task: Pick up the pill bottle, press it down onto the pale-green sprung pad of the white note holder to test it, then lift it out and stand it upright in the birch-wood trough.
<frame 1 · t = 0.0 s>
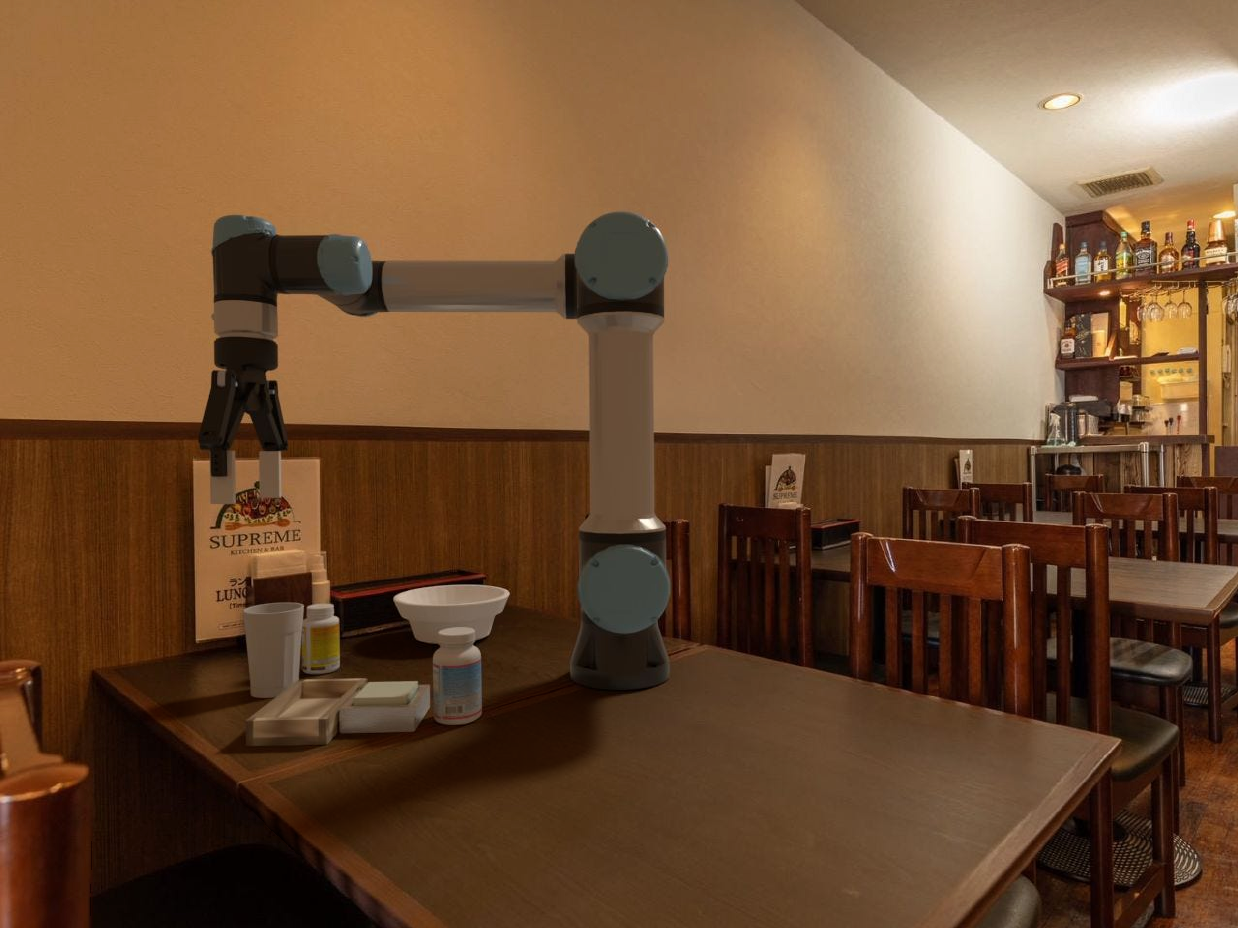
hand: (248, 500, 98), 28 cm above the table, fingers open, 13 cm apart
supplement bottle: (321, 671, 118), on the table
trough: (311, 721, 95), on the table
pad: (386, 693, 96), point 3 cm above the table, slide at -0.1 cm
bowl: (452, 639, 139), on the table
pill bottle: (457, 719, 96), on the table
cup: (275, 692, 108), on the table
white note holder: (387, 719, 96), on the table
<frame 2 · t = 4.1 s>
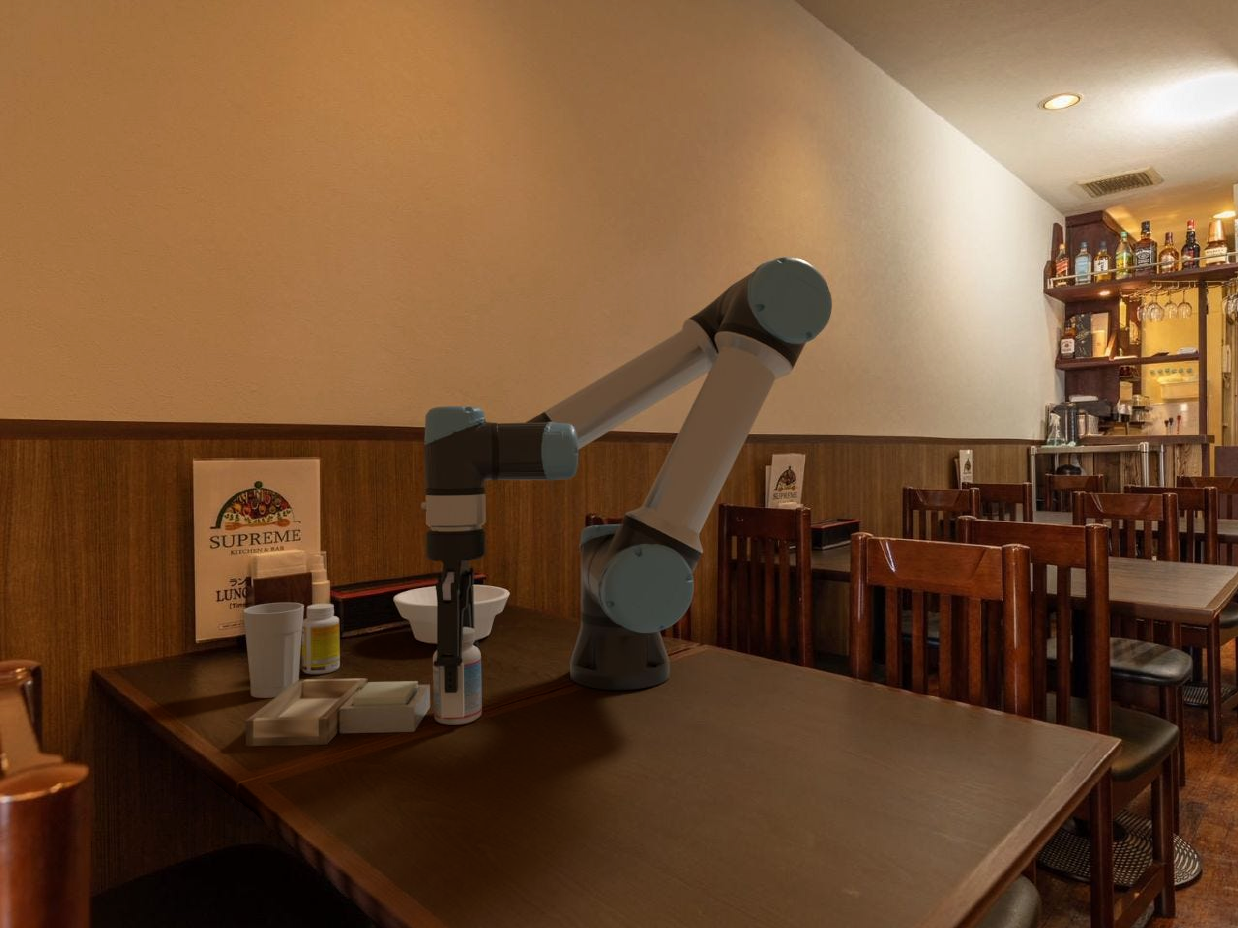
hand: (457, 706, 96), 1 cm above the table, fingers closed on pill bottle, 6 cm apart
pill bottle: (457, 719, 96), on the table, touching gripper
everything else where it was.
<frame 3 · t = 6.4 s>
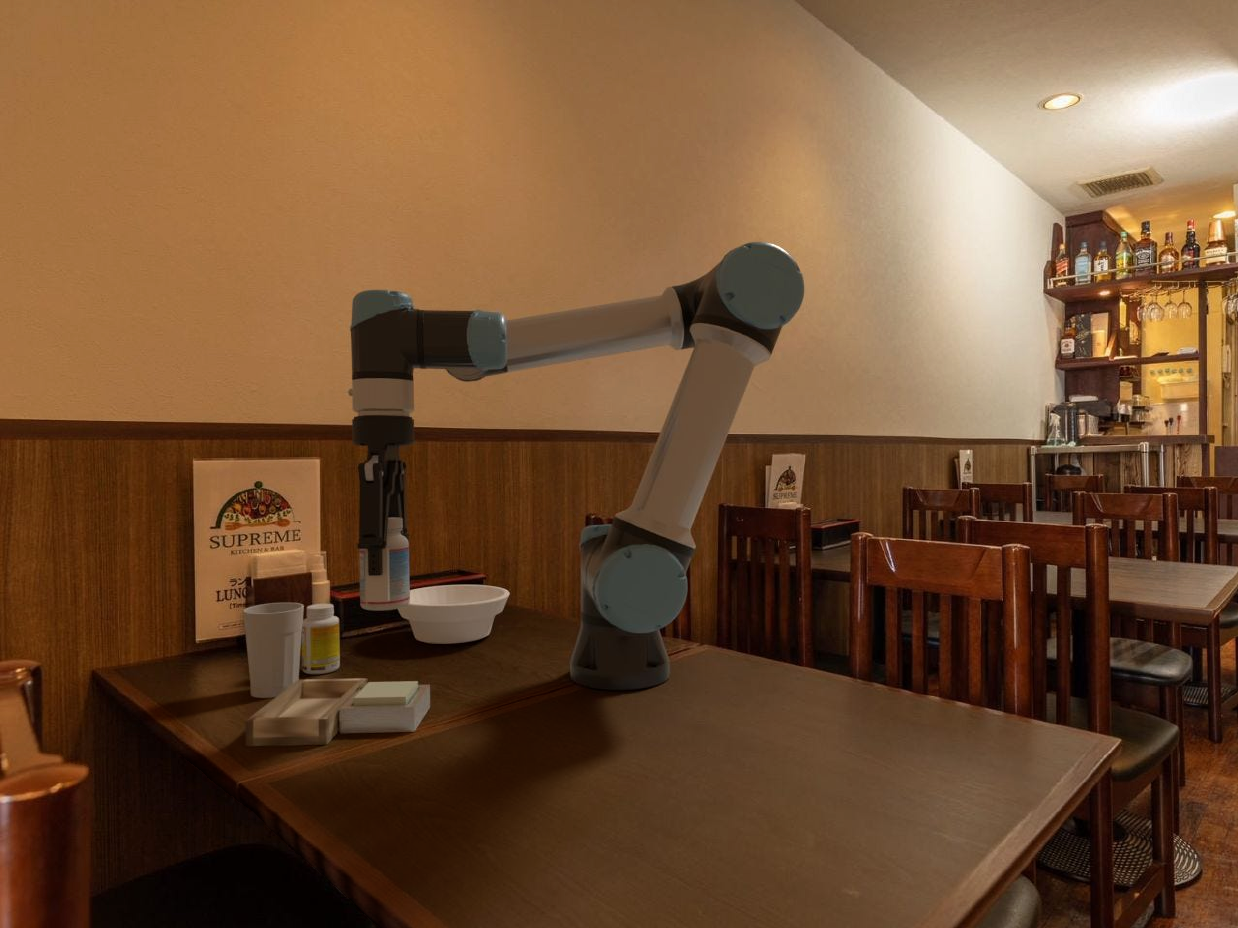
hand: (385, 595, 95), 16 cm above the table, fingers closed on pill bottle, 6 cm apart
pill bottle: (385, 608, 95), point 14 cm above the table, touching gripper
everything else where it was.
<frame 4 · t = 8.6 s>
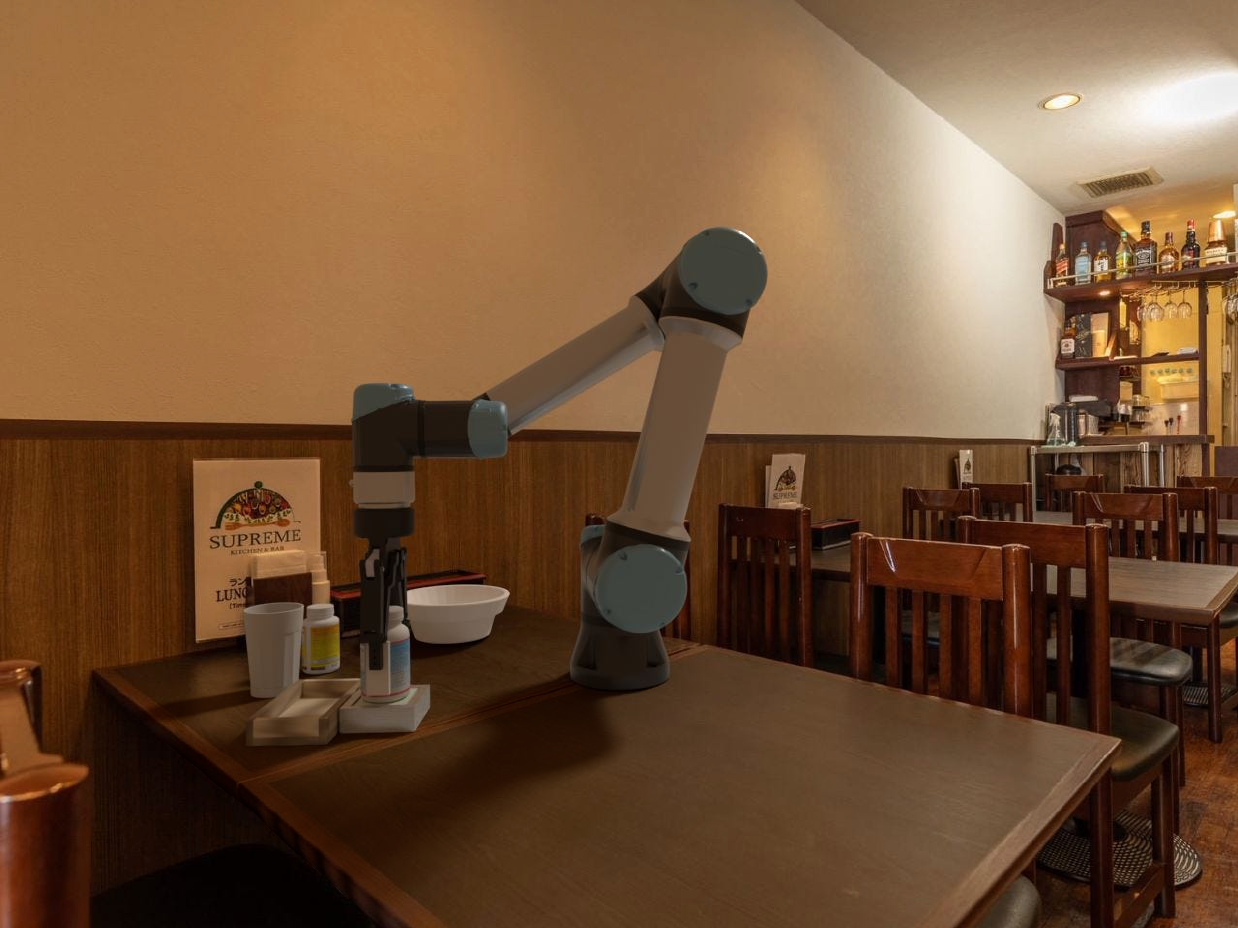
hand: (386, 685, 96), 4 cm above the table, fingers closed on pill bottle, 6 cm apart
pad: (386, 701, 96), point 2 cm above the table, slide at -1.1 cm, touching pill bottle
pill bottle: (385, 698, 96), point 3 cm above the table, touching gripper, pad
everything else where it was.
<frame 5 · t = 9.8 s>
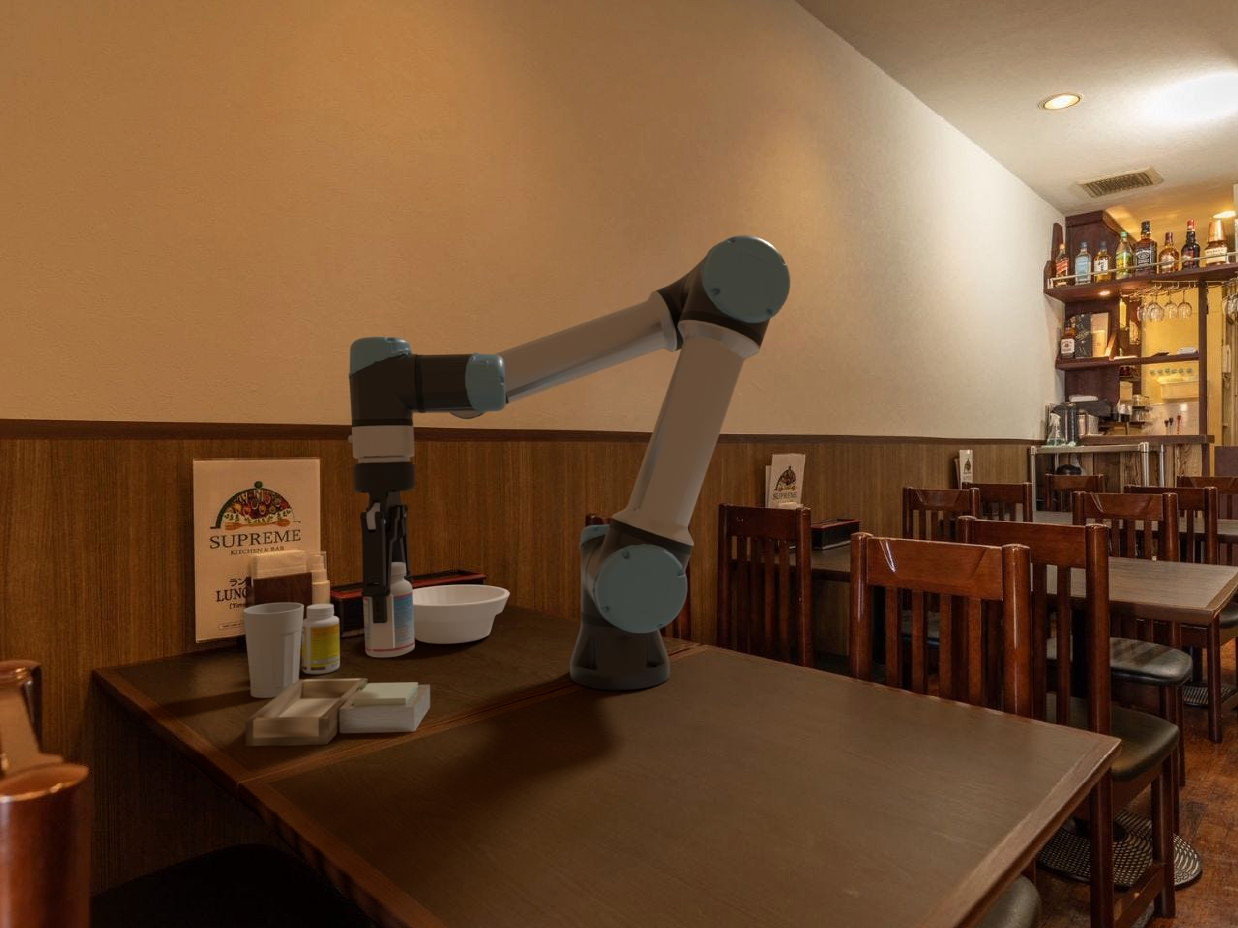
hand: (390, 640, 96), 10 cm above the table, fingers closed on pill bottle, 6 cm apart
pad: (386, 694, 96), point 3 cm above the table, slide at -0.3 cm
pill bottle: (390, 653, 96), point 8 cm above the table, touching gripper
everything else where it was.
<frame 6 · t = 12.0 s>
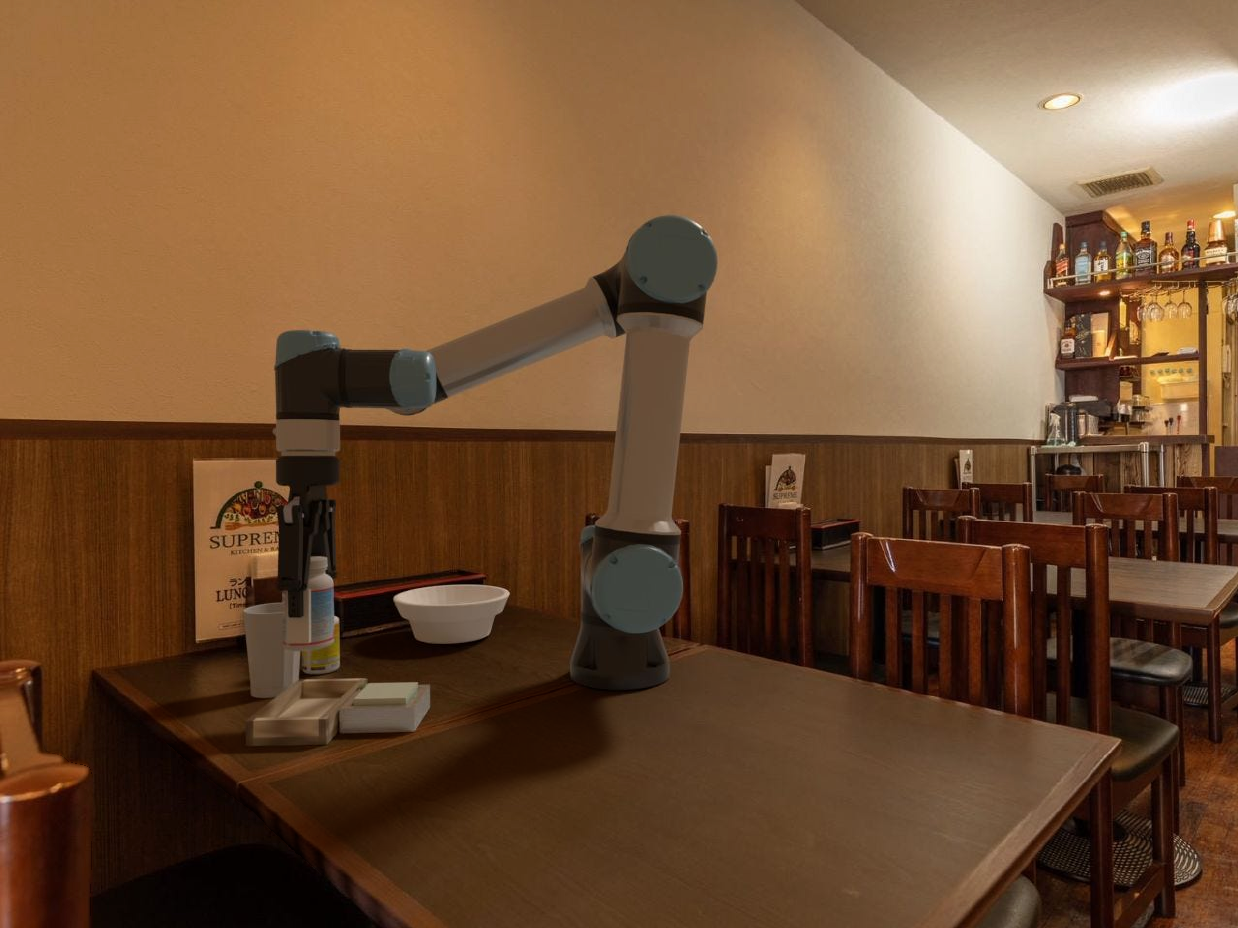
hand: (309, 635, 95), 11 cm above the table, fingers closed on pill bottle, 6 cm apart
pill bottle: (308, 648, 95), point 9 cm above the table, touching gripper
everything else where it was.
when the fingers open (4 cm above the table, at t = 13.7 s): pill bottle drops 1 cm, resting on trough.
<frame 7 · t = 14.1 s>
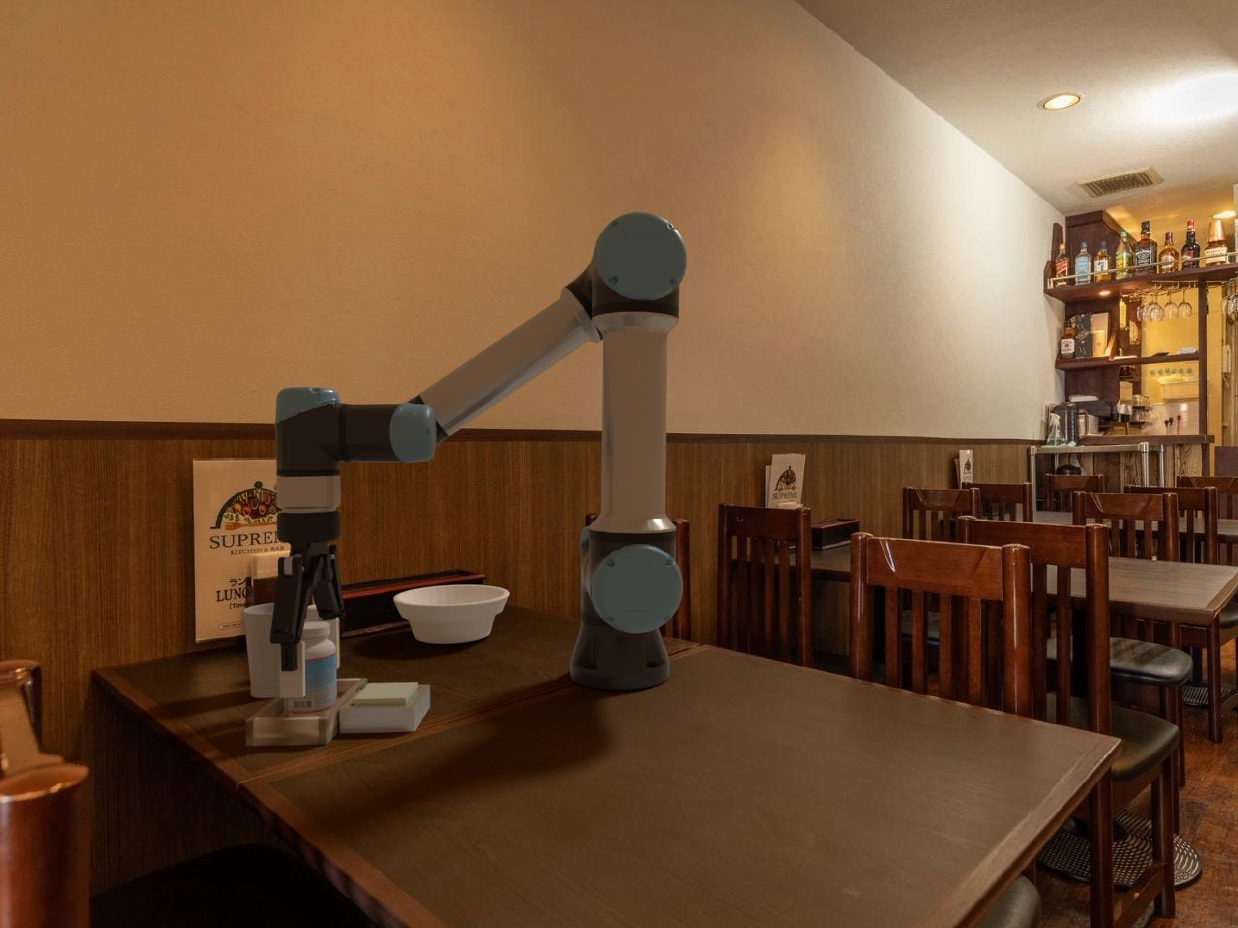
hand: (311, 681, 95), 5 cm above the table, fingers open, 11 cm apart
pill bottle: (311, 714, 95), point 1 cm above the table, touching trough
everything else where it was.
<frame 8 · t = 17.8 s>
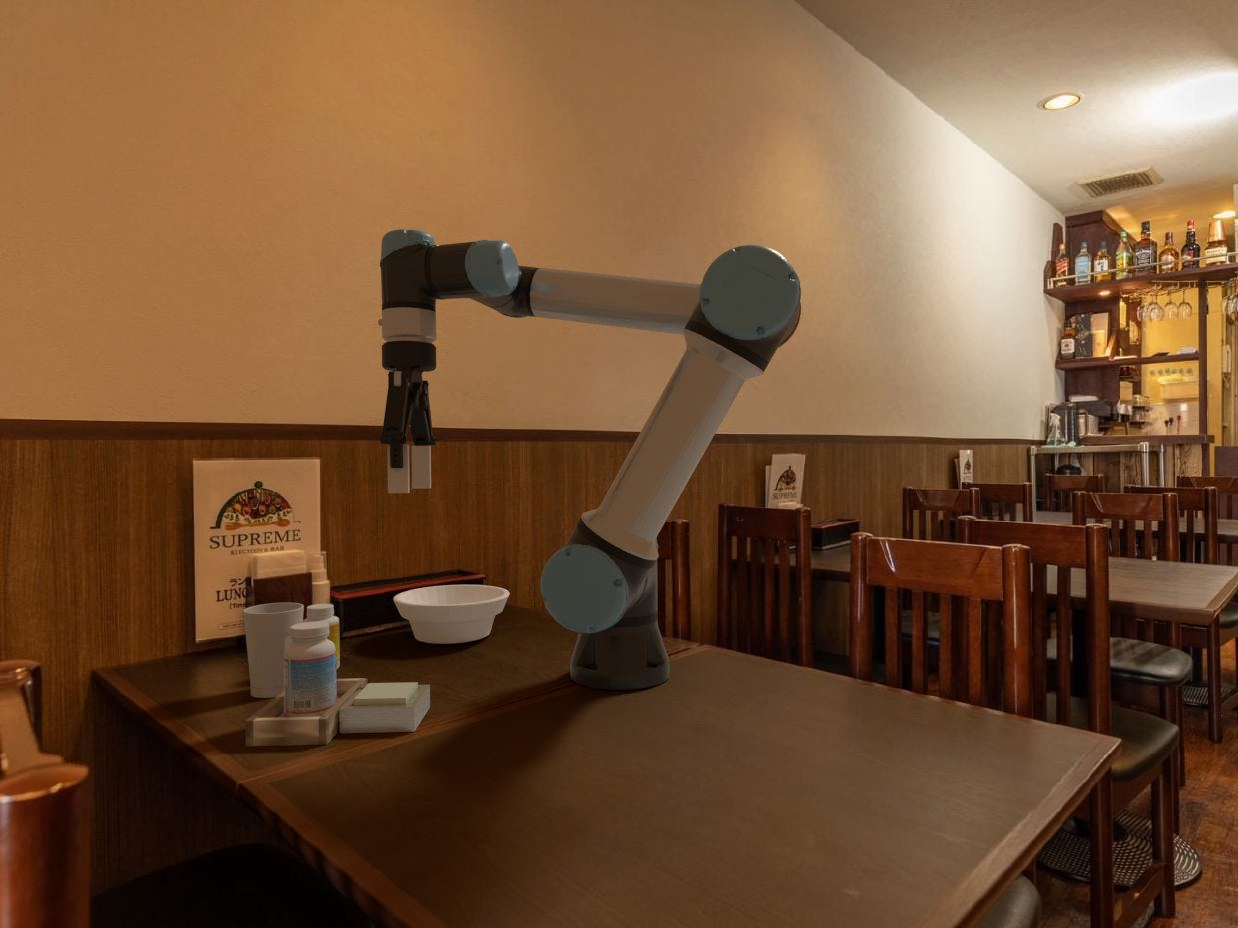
hand: (410, 490, 107), 29 cm above the table, fingers open, 13 cm apart
nothing on the table moved.
at the end: pill bottle inside the target area on the trough (0.0 cm from its centre), point 0.8 cm above the trough's base; pill bottle tilted 0°; pad slide at -0.3 cm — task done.
